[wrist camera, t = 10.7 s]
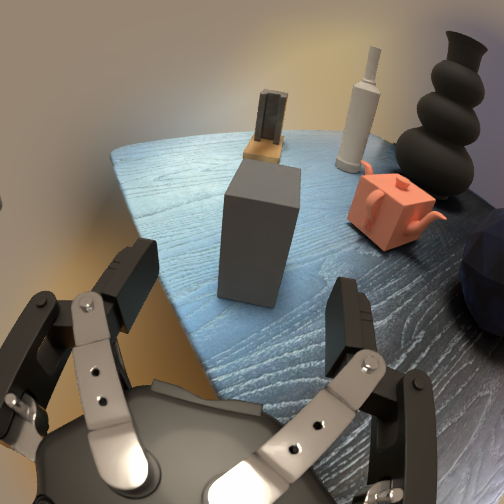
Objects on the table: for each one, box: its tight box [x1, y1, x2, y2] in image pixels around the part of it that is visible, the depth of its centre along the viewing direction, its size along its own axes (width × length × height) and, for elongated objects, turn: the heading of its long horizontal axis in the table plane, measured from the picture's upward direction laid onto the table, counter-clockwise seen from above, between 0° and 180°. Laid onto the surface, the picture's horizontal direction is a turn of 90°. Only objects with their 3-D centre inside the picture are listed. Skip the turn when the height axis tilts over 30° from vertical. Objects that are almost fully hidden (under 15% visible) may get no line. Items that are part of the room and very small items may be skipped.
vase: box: [395, 31, 488, 200], centre depth 44 cm, size 18×18×35 cm
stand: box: [243, 89, 288, 164], centre depth 53 cm, size 6×15×11 cm, turn 171°
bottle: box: [336, 46, 381, 173], centre depth 47 cm, size 5×5×25 cm
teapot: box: [347, 160, 447, 251], centre depth 35 cm, size 12×15×8 cm
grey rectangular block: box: [217, 158, 301, 308], centre depth 26 cm, size 5×9×10 cm, turn 171°
